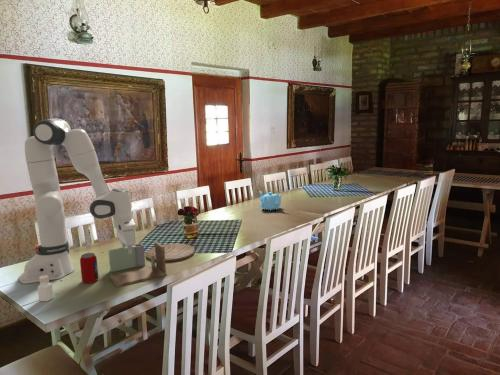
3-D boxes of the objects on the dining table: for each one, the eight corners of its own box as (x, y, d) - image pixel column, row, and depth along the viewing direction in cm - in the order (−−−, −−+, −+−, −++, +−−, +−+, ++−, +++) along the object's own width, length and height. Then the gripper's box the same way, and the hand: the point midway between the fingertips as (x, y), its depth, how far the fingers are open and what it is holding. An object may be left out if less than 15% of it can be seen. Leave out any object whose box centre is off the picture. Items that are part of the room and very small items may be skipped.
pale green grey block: (111, 272, 175) (109, 252, 173) (109, 270, 178) (107, 249, 176) (145, 265, 183) (143, 245, 182) (142, 262, 187) (141, 243, 185)
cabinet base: (117, 287, 159) (114, 257, 157) (110, 277, 169) (107, 250, 167) (166, 275, 171) (165, 247, 168) (157, 266, 181) (156, 240, 178)
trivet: (201, 248, 207) (201, 245, 207) (181, 264, 183) (181, 261, 183) (161, 245, 214) (160, 242, 214) (136, 261, 190) (136, 257, 190)
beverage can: (101, 280, 166) (99, 254, 164) (86, 285, 162) (83, 258, 159) (94, 276, 171) (91, 251, 169) (79, 281, 166) (76, 255, 164)
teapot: (259, 207, 302) (259, 190, 300) (283, 207, 300) (283, 190, 298) (257, 212, 287) (256, 194, 284) (283, 212, 284) (282, 194, 282)
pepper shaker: (47, 302, 147) (44, 279, 145) (38, 301, 148) (35, 278, 146) (54, 297, 151) (51, 275, 149) (45, 296, 151) (42, 274, 150)
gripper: (111, 219, 184) (114, 246, 186) (122, 228, 167) (125, 258, 169) (124, 217, 187) (127, 243, 189) (136, 225, 170) (139, 254, 172)
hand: (127, 250), depth 179 cm, fingers open, 8 cm apart
